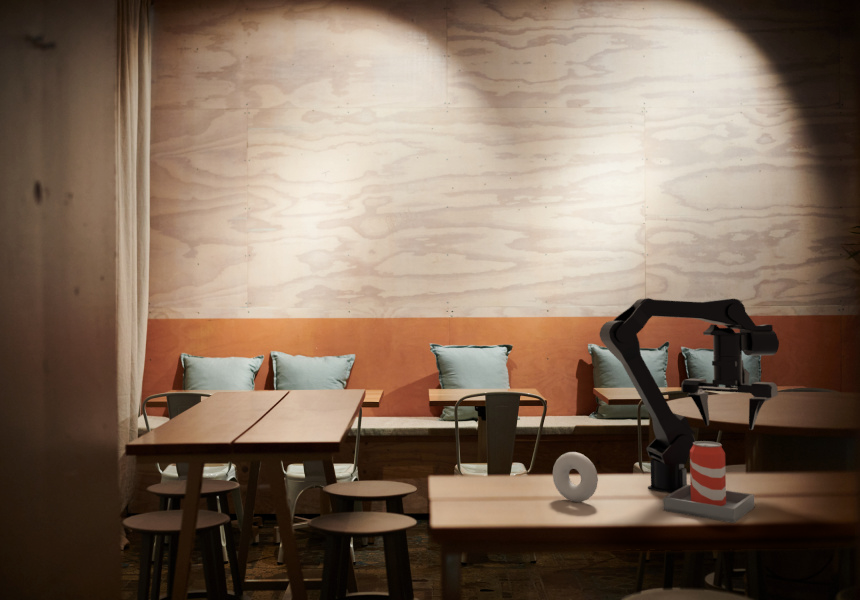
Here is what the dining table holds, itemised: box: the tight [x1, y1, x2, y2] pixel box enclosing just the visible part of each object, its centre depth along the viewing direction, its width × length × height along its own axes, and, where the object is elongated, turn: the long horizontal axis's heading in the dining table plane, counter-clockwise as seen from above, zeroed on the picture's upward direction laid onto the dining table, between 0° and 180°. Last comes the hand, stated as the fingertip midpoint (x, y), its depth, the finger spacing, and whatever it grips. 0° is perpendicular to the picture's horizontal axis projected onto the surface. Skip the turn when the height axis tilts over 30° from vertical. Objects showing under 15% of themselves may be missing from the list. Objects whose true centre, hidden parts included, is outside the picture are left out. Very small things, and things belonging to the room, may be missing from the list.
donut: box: [552, 451, 599, 503], centre depth 140 cm, size 10×4×10 cm, turn 47°
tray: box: [662, 484, 755, 524], centre depth 134 cm, size 13×13×2 cm
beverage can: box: [689, 440, 727, 506], centre depth 134 cm, size 6×6×12 cm
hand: (728, 427), depth 151 cm, fingers open, 9 cm apart
